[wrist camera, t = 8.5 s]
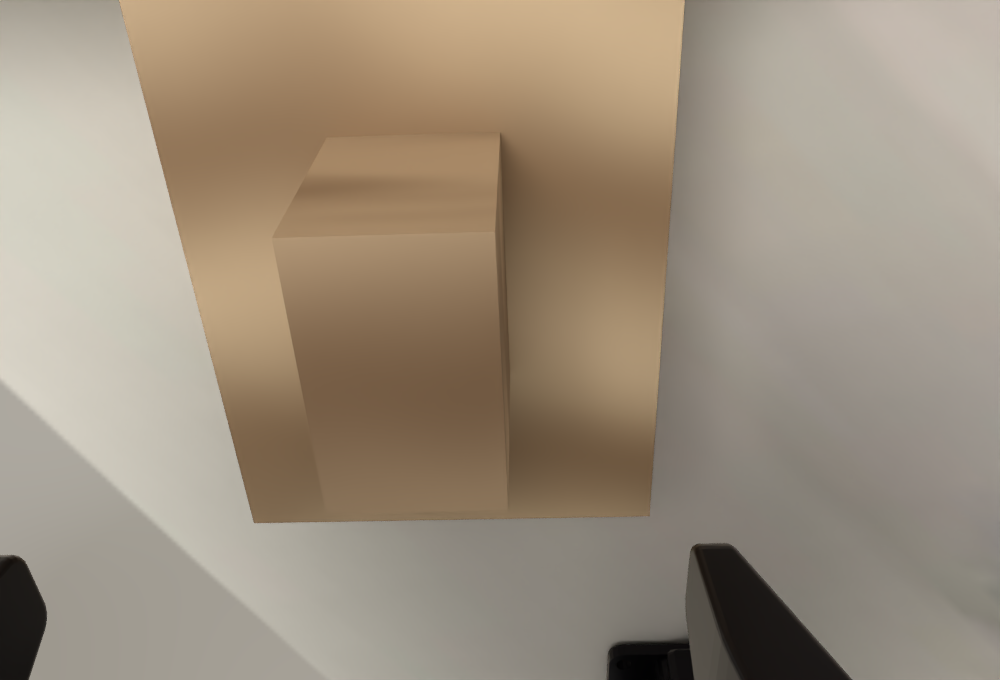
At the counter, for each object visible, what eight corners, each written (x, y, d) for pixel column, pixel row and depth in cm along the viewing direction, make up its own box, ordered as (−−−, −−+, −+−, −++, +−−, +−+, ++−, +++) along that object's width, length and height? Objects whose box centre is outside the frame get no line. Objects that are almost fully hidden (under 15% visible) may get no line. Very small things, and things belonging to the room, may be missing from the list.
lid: (643, 486, 21) (676, 666, 16) (264, 492, 21) (200, 672, 17) (699, -395, 12) (797, -495, 8) (57, -360, 12) (-184, -437, 8)
